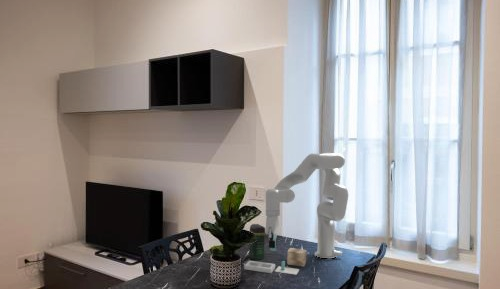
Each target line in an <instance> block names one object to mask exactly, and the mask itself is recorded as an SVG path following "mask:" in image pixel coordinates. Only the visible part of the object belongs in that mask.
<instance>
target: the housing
mask: <svg viewBox="0 0 500 289" xmlns="http://www.w3.org/2000/svg"><path fill="white" fill-rule="evenodd" d="M286 263H287V264H286V265H290V266H295V267H305V266H306V263H307V249H302V248H294V247H293V248H292V247H290V248H288V250H287V257H286Z"/></svg>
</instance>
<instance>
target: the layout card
mask: <svg viewBox="0 0 500 289" xmlns="http://www.w3.org/2000/svg"><path fill="white" fill-rule="evenodd" d="M299 271H300V269H299V268H293V267H289V266H287V267H286V261H285V260H282V261H281V266H280V265H279V266H277V268H275V269H274V272H276V273H283V274H289V275H295V276H296V275H297V274H298V273H299Z"/></svg>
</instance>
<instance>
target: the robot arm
mask: <svg viewBox="0 0 500 289" xmlns="http://www.w3.org/2000/svg"><path fill="white" fill-rule="evenodd" d="M345 162H346V159H345V156H344V155H342V154H341V153H336V152H335V153H333V152H323V153H309V154H308V155H307V156H306V157H305V158H304V159H303V160H302V162H301V163H300V164H299V165H298V166H297V167H296V169H294V171H292V172H290V173H289V174H288V175H286V176H285V177H283V178H282V179H280V181H279V182H278V183H277V184H276V186H275V187H274V188H269V189H268V188H267V189H266V190H265V216H266V219H265V220H266V221H265V222H266V223H265V236H268V248H269V249H270V248H275V240H274V235H275V234H276V247H277V246H278V237H277V236H278V234H277V233H278V232H279V229H280V228H279V225H280V224H279V222H280V221H279V216H280V215H281V213H280V212H281V211H280V210H281V208H280V207H281V205H280V204H281V203H284V204H285V203H286V204H288V203H292V202H293V201H294V200H295V199H296V198H295V197H296V194H295V191H293V189H292V188H293V187H294V186H296V185H300V184H303V183H304V182H307V181H308V180H309V178H310V177H311V176H312V175H313V173H314V172H315V171H316V170H324V172H325V173H324V174H325V176H324V181H323V182H324V183H323V188H322V196H323V197H324V198H325V199H327V200H330V201H327V200H326V201H320V202H319V204H318V205H317V207H316V214H317V250H316V251H315V252H314V257H316V256H317V257H316V258H318V257H320V258H319V259H321V258H334V257H336V256H341V257H342V255H343V252H342V251H341V250H336V247H335V232H336V231H335V230H336V225H335V222H341V221H343V219H344V218H345V216H346V211H347V206H348V202H349V190H348V189H347V187H346V186H344V185H342V184H340V183H341V182H340V181H341V172H340V170H339V169H341V168H343V167H344V166H345V164H346V163H345ZM331 201H332V202H331ZM272 236H273V237H272ZM335 255H336V256H335ZM336 258H337V257H336Z"/></svg>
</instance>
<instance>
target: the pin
mask: <svg viewBox="0 0 500 289" xmlns="http://www.w3.org/2000/svg"><path fill="white" fill-rule="evenodd" d="M272 237H273V236H272ZM274 240H275V248H269V250H270V251H272V252H274V251H275V252H276V251H277V246H276V234H275V235H274Z"/></svg>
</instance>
